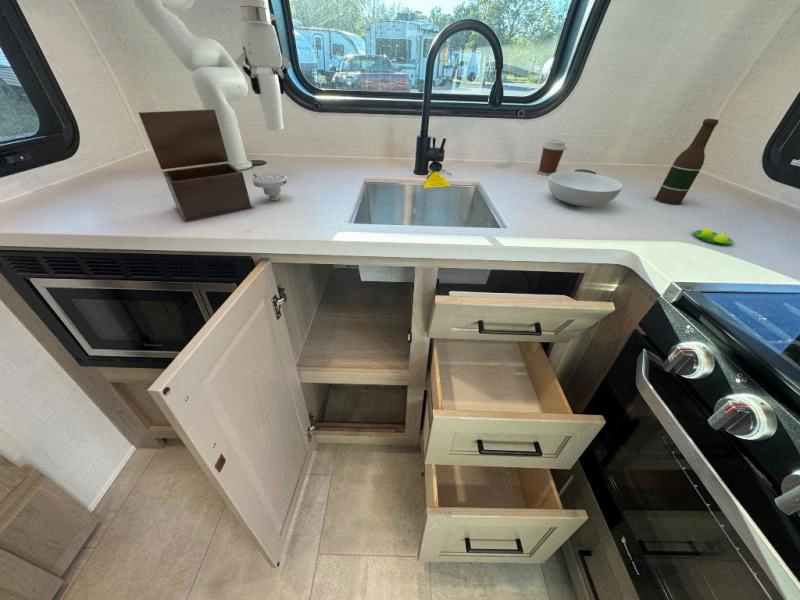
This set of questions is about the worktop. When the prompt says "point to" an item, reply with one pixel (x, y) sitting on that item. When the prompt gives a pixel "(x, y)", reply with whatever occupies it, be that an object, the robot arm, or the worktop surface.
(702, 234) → the green disc yellow mounds
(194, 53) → the robot arm
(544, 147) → the coffee cup
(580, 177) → the serving bowl
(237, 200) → the chest
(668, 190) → the beer bottle
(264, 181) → the showerhead
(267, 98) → the drinking glass
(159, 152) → the lid
